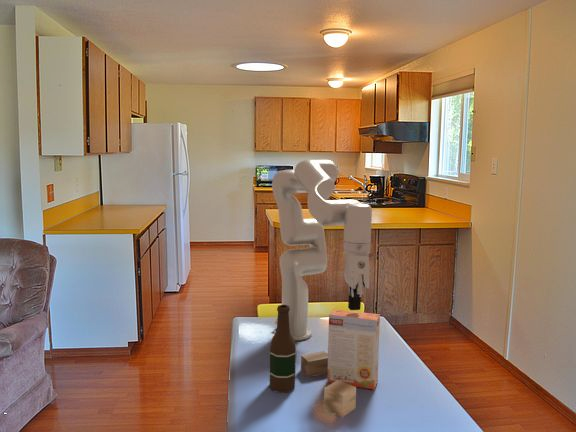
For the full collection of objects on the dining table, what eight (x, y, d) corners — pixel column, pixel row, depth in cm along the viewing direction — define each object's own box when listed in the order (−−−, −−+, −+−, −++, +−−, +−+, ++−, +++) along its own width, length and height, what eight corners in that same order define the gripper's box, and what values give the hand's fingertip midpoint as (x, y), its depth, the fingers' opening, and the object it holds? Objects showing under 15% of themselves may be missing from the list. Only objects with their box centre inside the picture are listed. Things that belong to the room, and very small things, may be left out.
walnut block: (300, 370, 154) (301, 355, 153) (323, 366, 157) (324, 351, 156) (308, 377, 149) (308, 361, 148) (331, 372, 152) (331, 357, 152)
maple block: (323, 409, 131) (324, 387, 130) (336, 400, 136) (337, 379, 135) (342, 417, 127) (343, 395, 126) (355, 408, 132) (356, 387, 131)
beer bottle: (265, 382, 145) (265, 303, 142) (290, 378, 148) (291, 300, 144) (274, 395, 138) (274, 312, 134) (300, 390, 141) (301, 309, 137)
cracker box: (378, 381, 147) (380, 313, 144) (374, 391, 141) (377, 320, 138) (332, 373, 151) (333, 307, 148) (326, 382, 146) (328, 313, 143)
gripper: (378, 253, 134) (375, 318, 137) (361, 241, 149) (359, 300, 152) (351, 253, 133) (348, 319, 136) (337, 241, 148) (335, 301, 150)
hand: (354, 309), depth 144 cm, fingers closed
